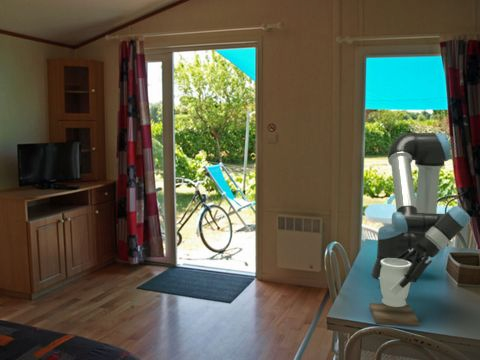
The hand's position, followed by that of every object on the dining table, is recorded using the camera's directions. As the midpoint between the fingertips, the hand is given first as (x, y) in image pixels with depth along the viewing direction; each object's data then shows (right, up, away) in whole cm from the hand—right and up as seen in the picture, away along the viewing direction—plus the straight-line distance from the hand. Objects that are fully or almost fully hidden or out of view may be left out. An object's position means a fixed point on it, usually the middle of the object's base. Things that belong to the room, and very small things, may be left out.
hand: (386, 286), depth 165 cm
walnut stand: (+3, -11, +2) cm, 12 cm away
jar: (+3, -6, +1) cm, 7 cm away
